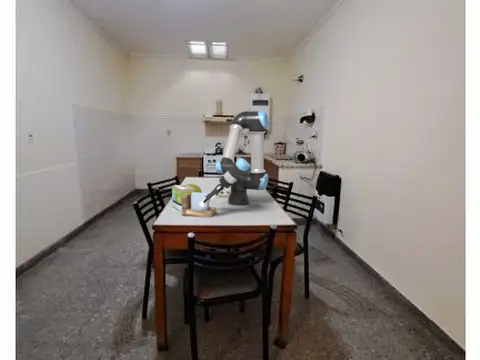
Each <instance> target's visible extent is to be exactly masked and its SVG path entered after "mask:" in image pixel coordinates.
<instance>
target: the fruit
mask: <svg viewBox="0 0 480 360" xmlns="http://www.w3.org/2000/svg"><path fill="white" fill-rule="evenodd" d="M186 185H187V186H190V187H192V188H194V192H197V193H203V192H202V188H201V187H200V186H199V185H197V184H194V183H187V184H186Z"/></svg>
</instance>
